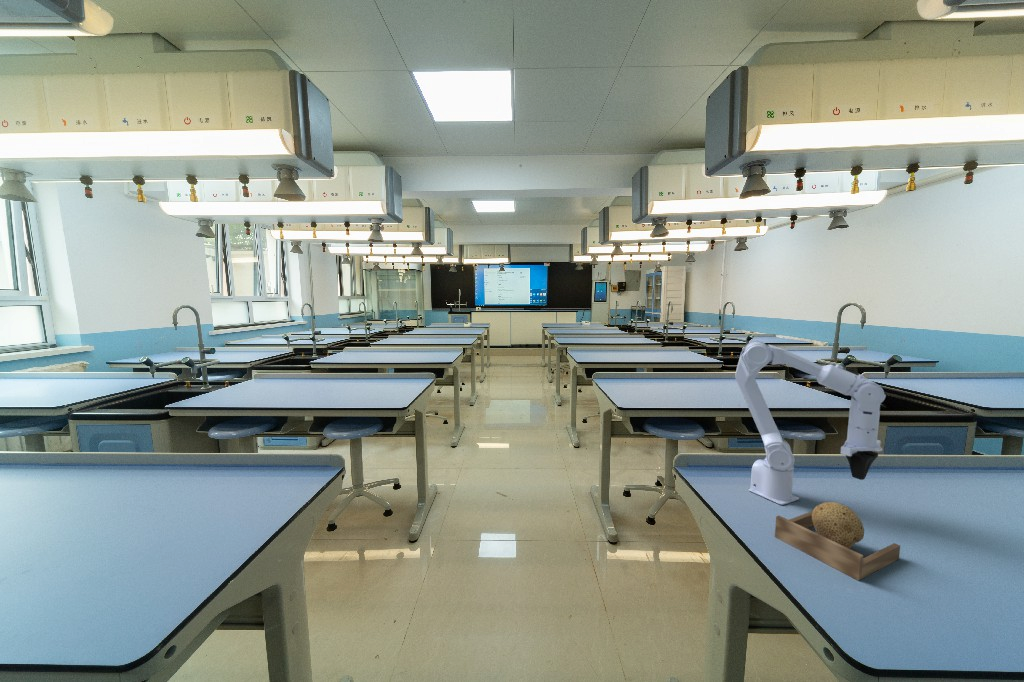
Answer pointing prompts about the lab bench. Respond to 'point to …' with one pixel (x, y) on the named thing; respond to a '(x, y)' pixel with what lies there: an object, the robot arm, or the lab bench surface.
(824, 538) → the wooden u-shaped fence
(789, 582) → the lab bench surface
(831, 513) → the natural sponge
